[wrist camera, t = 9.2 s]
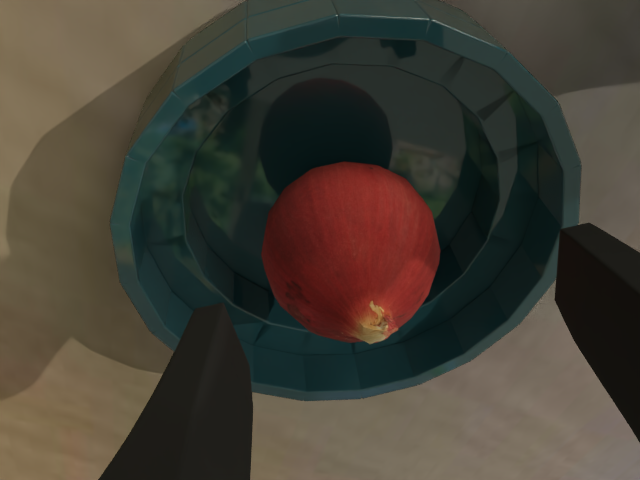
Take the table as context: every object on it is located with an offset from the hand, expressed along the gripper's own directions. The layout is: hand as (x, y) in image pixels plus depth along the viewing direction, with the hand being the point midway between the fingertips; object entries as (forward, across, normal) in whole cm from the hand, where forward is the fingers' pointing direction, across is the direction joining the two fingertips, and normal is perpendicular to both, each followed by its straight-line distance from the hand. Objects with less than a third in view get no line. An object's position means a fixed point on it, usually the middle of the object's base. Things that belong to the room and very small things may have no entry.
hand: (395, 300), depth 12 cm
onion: (+10, +1, +3) cm, 11 cm away
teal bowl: (+10, +1, +3) cm, 11 cm away
